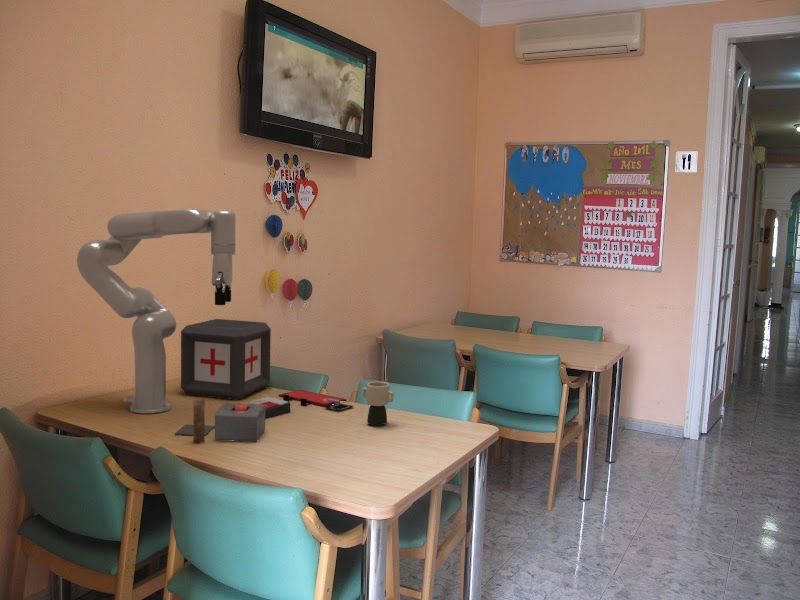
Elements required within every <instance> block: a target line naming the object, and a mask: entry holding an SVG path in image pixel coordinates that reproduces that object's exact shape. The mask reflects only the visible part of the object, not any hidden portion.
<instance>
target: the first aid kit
mask: <svg viewBox="0 0 800 600" xmlns="http://www.w3.org/2000/svg"><path fill="white" fill-rule="evenodd" d="M271 331H272V330H271V327H270V326H269V325H268V323H267V322H263V321H262V322H261V321H250V320H249V321H248V320H236V319H235V320H234V319H226V318H225V319H223V318H221V319H220V318H215V319H209V320H205V321H202V322H197V323H192V324H187V325H185V326H184V328H182V330H181V331H180V389H182V392H184V394H185V395H188V394H192V396H197V395H200V397H207V396H211V397H210V398H216V397H220V398H219V399H225V398H231V399H230V400H235V399H239V400H241V399H243V398H245V397H247V396H249V395H251V393H252V394H254V393H256V392H258V391H260V390H262V389H264V388H266V387H267V386H268V385H269V384H270V383H271V337H272V335H271V334H272V333H271ZM257 390H258V391H257ZM255 391H256V392H255ZM253 392H254V393H253ZM246 395H247V396H246ZM244 396H245V397H244ZM242 397H243V398H242ZM240 398H241V399H240Z"/></svg>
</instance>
